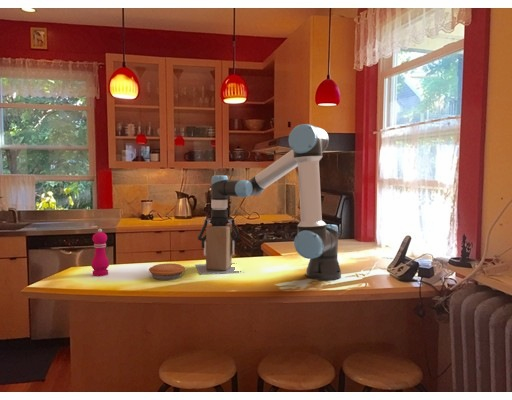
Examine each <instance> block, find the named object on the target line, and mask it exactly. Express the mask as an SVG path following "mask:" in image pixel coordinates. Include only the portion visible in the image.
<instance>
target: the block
mask: <svg viewBox="0 0 512 400" xmlns="http://www.w3.org/2000/svg"><path fill="white" fill-rule="evenodd" d="M230 231H231V232H232V233H233V227H232V225H231V224H227V225H226V226H212V224H211V225H209V226H208V225H207V227H206V229H205V232H206V233H205V234H206V240H205V241H206V256H205V264H206V269H208V270H220V271H226V270H227V269H229V268H230V267H231V265H232V263H233V261H232V259H233V258H232V256H233V255H232V240H233V238H232V237H231V235H230Z"/></svg>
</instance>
